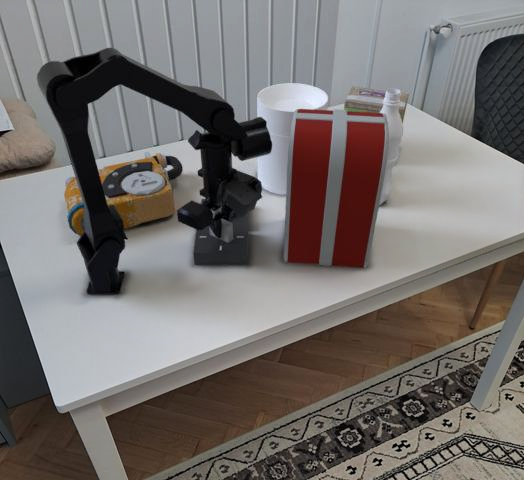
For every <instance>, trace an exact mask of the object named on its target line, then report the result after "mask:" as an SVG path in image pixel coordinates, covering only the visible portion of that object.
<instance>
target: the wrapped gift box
mask: <svg viewBox="0 0 524 480" xmlns="http://www.w3.org/2000/svg"><path fill="white" fill-rule="evenodd" d="M388 148H389V127H388V121H387V117H386V115H385V114H384V113H383V114H382V113H372V112H352V111H347V110H344V109H339V108H334V109H333V110H329V109H327V110H312V109H299V110H298V109H296V110H295V111H294V113H293V117H292V123H291V129H290V137H289V149H288V165H287V188H286V195H285V213H284V214H285V215H284V239H283V261H284V262H285V263H295V264H307V265H310V264H311V265H319V266H328V267H331V266H334V267H349V268H363V269H364V268H368V265H369V262H370V257H371V251H372V247H373V241H374V235H375V230H376V225H377V219H378V215H379V209H380V205H379V204H380V198H381V193H382V188H383V183H384V177H385V171H386V165H387V158H388Z"/></svg>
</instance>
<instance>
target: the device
mask: <svg viewBox="0 0 524 480" xmlns="http://www.w3.org/2000/svg"><path fill="white" fill-rule="evenodd" d="M168 166H171V167H172V168H171V169H168V170H167V169H166V168H168ZM183 168H184V167H183V164H182V163H181V161H180V159H178V157H176V156H173V155H165V153H159V152H157V153H155V155H152V154H151V152H150V151H146V152H145V151H144V158H140V159H136V160H131V161H126V162H121V163H116V164H111V165H107V166H104V167H103V168H101V169H98V171H99V175H100V179H101V182H102V186H103V190H104V193H105V197H106V201H107V205H108V206H111V205H114V206H115V208H116V209H117V211H118V213H119V215H120V216H121V218H122V220H123V224H124V229H126V228H130V227H136V226H139V225H140V224H143V223H144V224H145V223H148V222H151V221H155V220H158V219H162V218H167V217H170V216H171V215H173V214H174V213H175V211H176V205H175V198H174V191H173V186H172V184H171V183H170V181H173V180H175V179H177V178H179V177H180V176H182V173H183V171H184V170H183ZM64 183H65V186H64V187H65V190H64V192H63V196H64V201H65V204H66V212H67V216H66V218H67V222H68V226H69V229H70V230H71V231H72V232H73V233H74V234H75V235H78V236H79V237H81V235H82V234H83V232H84V231H85V227H84V218H83V214H84V203H83V200H82V197H81V194H80V190H79V187H78V184H77V181H76V177H75V176H70V177H67V178H66V180H65V181H64Z"/></svg>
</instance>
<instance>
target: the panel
mask: <svg viewBox="0 0 524 480" xmlns="http://www.w3.org/2000/svg"><path fill="white" fill-rule="evenodd" d="M195 231H196V232H195V239H194V246H193V252H192V255H193V262H194V263H193V264H194V265H195V266H248V265H249V231H248V223H233V240H232V241H231V242H229V243H228V242H225V241H223V240H221V239H219V238H216V237H214V236H212V235H210V227H209V226H207V227H206V228H204V229H203V230H196V229H195Z"/></svg>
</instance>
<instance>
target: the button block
mask: <svg viewBox="0 0 524 480" xmlns="http://www.w3.org/2000/svg"><path fill="white" fill-rule="evenodd" d="M204 200H205V198H201V201H200V203H201V202H202V201H204ZM231 223H248V232H249V230H250V229H249V227H250V224H249V223H250V212H249V213H247V214H246V215H245V216H239V215H237V214H236V212H235V211H234V213H233V216H232V219H231Z"/></svg>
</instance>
